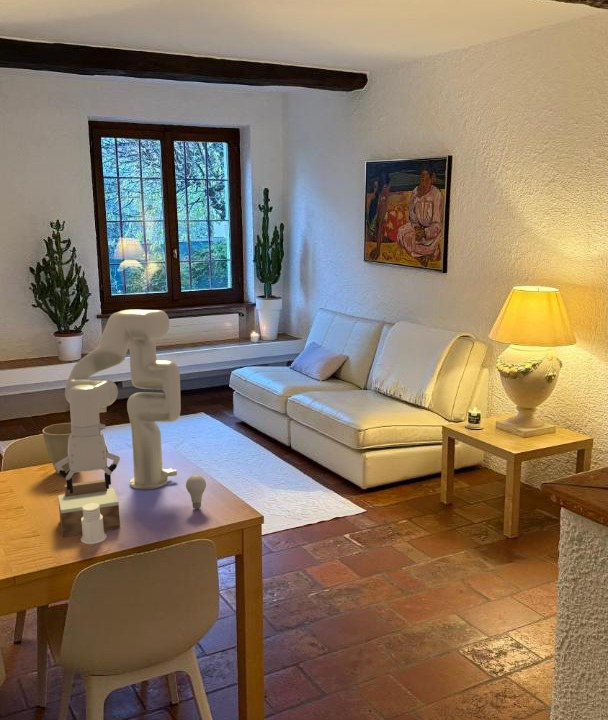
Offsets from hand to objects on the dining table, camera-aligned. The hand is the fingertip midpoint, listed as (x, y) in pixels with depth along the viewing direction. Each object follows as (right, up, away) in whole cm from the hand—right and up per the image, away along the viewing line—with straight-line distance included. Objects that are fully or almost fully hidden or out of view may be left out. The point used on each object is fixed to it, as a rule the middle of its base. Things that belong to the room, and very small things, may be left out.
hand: (89, 489), depth 206 cm
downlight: (0, -15, +4) cm, 15 cm away
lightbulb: (+26, -10, +24) cm, 37 cm away
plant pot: (-24, -4, +58) cm, 63 cm away
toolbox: (-4, -13, +13) cm, 19 cm away
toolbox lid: (-4, -6, +12) cm, 14 cm away
